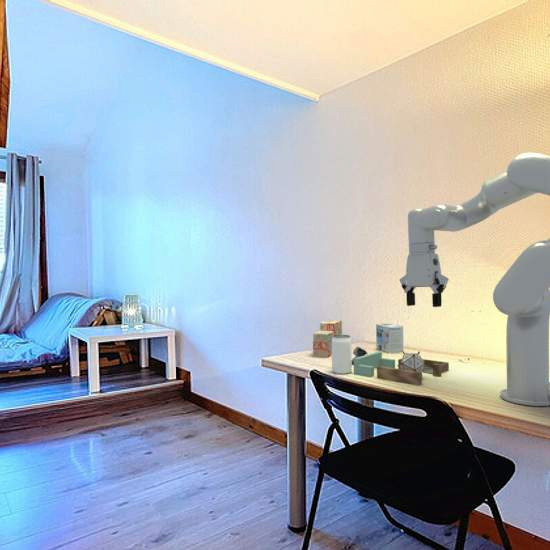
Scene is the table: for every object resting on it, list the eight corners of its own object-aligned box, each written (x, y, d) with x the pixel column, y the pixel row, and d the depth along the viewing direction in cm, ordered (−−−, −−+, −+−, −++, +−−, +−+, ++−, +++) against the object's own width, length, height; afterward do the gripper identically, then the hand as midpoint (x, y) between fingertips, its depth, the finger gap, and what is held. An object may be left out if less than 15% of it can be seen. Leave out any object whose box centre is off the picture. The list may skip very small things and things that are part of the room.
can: (336, 375, 144) (336, 337, 144) (329, 370, 150) (328, 335, 150) (355, 373, 146) (354, 336, 145) (346, 369, 152) (346, 334, 152)
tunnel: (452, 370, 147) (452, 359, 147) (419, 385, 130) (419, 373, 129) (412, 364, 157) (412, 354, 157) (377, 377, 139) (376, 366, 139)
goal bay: (395, 368, 152) (395, 353, 152) (371, 376, 140) (371, 361, 140) (378, 365, 156) (378, 351, 156) (353, 373, 145) (353, 358, 145)
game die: (415, 387, 141) (429, 360, 143) (420, 384, 133) (436, 356, 135) (389, 372, 143) (404, 346, 146) (393, 368, 135) (409, 340, 138)
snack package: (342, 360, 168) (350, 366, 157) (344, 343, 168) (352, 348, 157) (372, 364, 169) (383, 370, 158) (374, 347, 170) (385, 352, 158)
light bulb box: (375, 349, 187) (375, 323, 187) (389, 348, 189) (389, 322, 189) (389, 353, 177) (389, 326, 177) (404, 352, 179) (404, 325, 179)
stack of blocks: (328, 358, 171) (327, 326, 171) (312, 357, 174) (312, 325, 173) (342, 348, 191) (342, 319, 191) (328, 347, 193) (327, 319, 193)
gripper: (454, 247, 130) (456, 306, 130) (407, 251, 145) (409, 304, 145) (437, 247, 126) (439, 308, 126) (391, 251, 141) (393, 305, 141)
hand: (423, 306), depth 135 cm, fingers open, 9 cm apart
